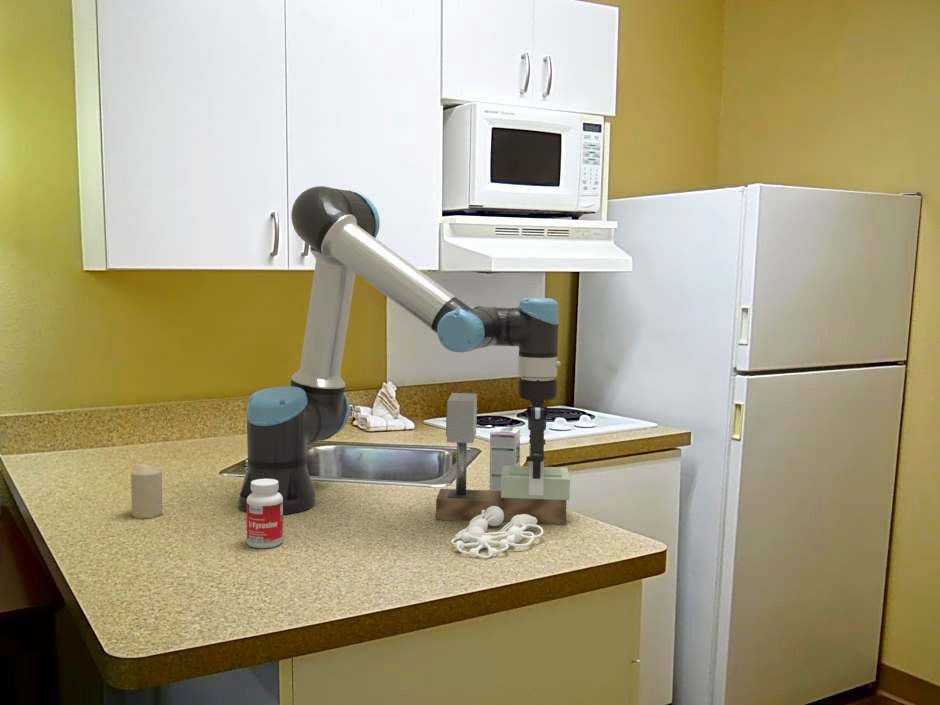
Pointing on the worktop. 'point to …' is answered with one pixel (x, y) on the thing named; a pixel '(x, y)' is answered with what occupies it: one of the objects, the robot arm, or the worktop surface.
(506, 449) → the syrup box
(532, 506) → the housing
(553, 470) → the cover
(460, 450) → the block
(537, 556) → the worktop surface
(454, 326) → the robot arm
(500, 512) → the tangled rod sculpture
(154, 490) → the candle
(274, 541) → the pill bottle
